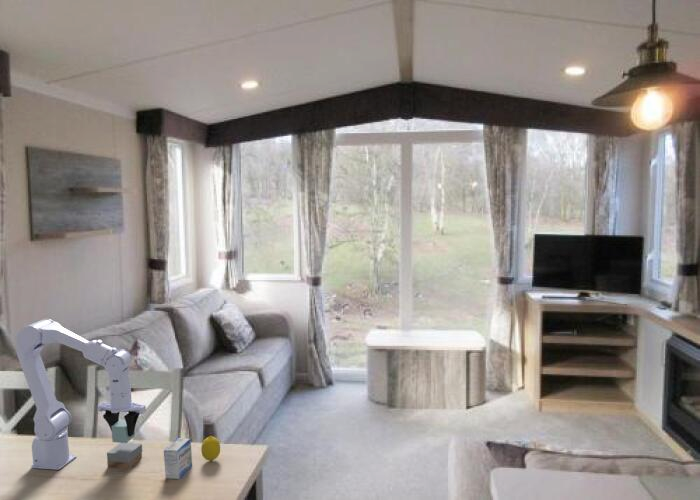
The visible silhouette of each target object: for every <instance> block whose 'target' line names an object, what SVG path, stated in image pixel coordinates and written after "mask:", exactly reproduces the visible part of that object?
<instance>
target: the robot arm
mask: <svg viewBox="0 0 700 500" xmlns="http://www.w3.org/2000/svg"><path fill="white" fill-rule="evenodd" d="M15 339H16V341H17V349H16V355H17V358H18V362H19V364H20V366H21V369H22V372H23V375H24V377H25V379H26V383H27V386H28V389H29V391H30V394H31V396H32V400H33V402H34V405H35V408H36V411H35V413H34V415H33V422H34V427H33V428H34V430H33V431H34V434H35V437H34V438H33V439H32V440H33V441H32V444H31V452H32V453H31V454H32V465H31V466H30V468H31V469H43V470H56V471H59V470H62V468H64V467H65V466H66V465H68V464H69V463H70V462H72V461H73V460H74V459H77V455H74V454H70V446H69V436H68V435H69V434H68V430H69V428H68V426H69V425H70V424H71V422H72V415H71V412H70V411H69V410H67V409H66V407H65V405H64V403H63V402H61V401H58V400H57V398H56V394H55V391H54V389H53V387H52V384H51V381H50V378H49V375H48V373H47V370H46V367H45V364H44V361H43V359H42V356H41V351H42V350H43V348H44V347H45V345H47V344H51V343H59V344H60V345H64V346H67V347H69V348H72V349H74V350H77V351H80V352H82V355H83V357H84V358H85V359H87V360H89V361H92V362H93V363H95V364H98V365H100V366H102V367H103V368H104V370H105V371H106V372H107V374H108V379H109V380H108V382H109V395H110V402H101V403H100V404H98V405H97V412H98V413H99V412H104V414H103V415H102V418H103V419H104V420H105V422H106V423H107V424H108V426H109V429H110V431H111V432H112V428H111V426H112V425H114V424H115V423H116V422H118V421H119V420H120V419H119V418H120V413H126V415H124V416H123V418H124V420H125V421H126V424H127V432H128V436H129V437H130V436H132V435H133V434H134V433H135V431H136V430H135V428H136V426H137V422H138V418H140V417H139V416H140V415H143V414H144V413H146V411H147V407H146V404H145V405H144V404H139V403H136V402H132V401H133V400H132V387H131V373H130V366H131V364H132V363H133V357H132V354H131V352H130V351H128V350H127V349H126V348H125V349H124V348H121V349H117V348H116V347H112V346H109V345H107V344H105V343H103V340H101V339H98V340H97V339H94V340H90V341H89V340H87V339H85V338H84V337H82V336H80V335H78V334H76V333H74V332H73V331H71V330H69V329H67V328H65V327H63V326H62V325H61V324H60V323H59V322H57V321H54V320H53V319H50V318H42V319H40V320H39V321H36V322H33V323H31V324H29V325H25V326H23V327H21V328H20V329H19V331H18V333H17V334H16V336H15Z"/></svg>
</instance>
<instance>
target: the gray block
mask: <svg viewBox="0 0 700 500" xmlns="http://www.w3.org/2000/svg"><path fill="white" fill-rule="evenodd" d="M141 452H142V453H143V444H142V443H135V442H129V441H128V442H127V443H118V444H117V445H116V446H115V447H113V448H111V449H110V450H109V451H108V452H106V459H107V461H114V462H123V463H129V462H130V461H131V460H132V459H134V458H135V457H136V456H137V455H139V454H140V453H141Z"/></svg>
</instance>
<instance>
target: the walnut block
mask: <svg viewBox="0 0 700 500" xmlns="http://www.w3.org/2000/svg"><path fill="white" fill-rule="evenodd" d="M142 458H143V451H142V452H141V453H140V454H139V455H137V456H136V457H135V458H134V459H132V460H131V461H130V462H129V463H123V462H114V461H107V468H109V469H122V470H123V469H124V470H125V469H126V470H130V469H131V468H132V467H134V465H135V464H136V463H138V462H139V461H140V460H141V459H142Z"/></svg>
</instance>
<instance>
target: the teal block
mask: <svg viewBox="0 0 700 500" xmlns="http://www.w3.org/2000/svg"><path fill="white" fill-rule="evenodd" d="M111 428H112V431H111V439H112V440H111V441H112V443H118V444H120V443H127V442H128V443H129V442H130V441H131V440H132V439H134V437H135V432H134V434H133V435H132V436H130V437H129V436H128V432H127V424H126V421H125V419H119V421H118V422H116V423H115V424H114V425H112V426H111Z"/></svg>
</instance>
